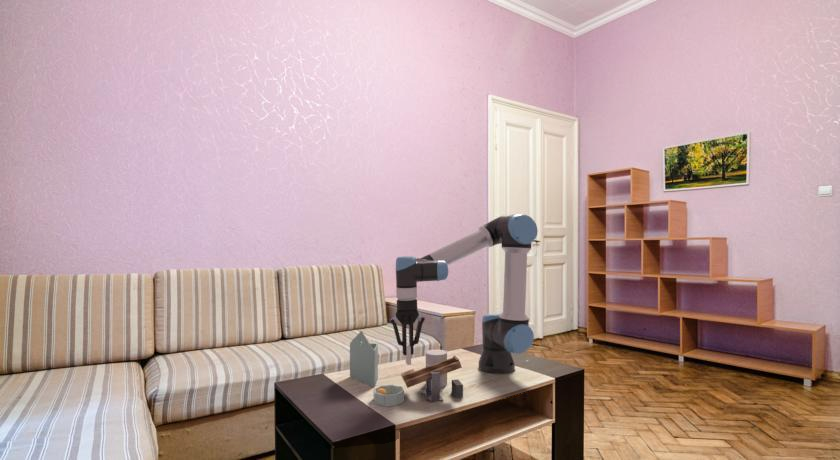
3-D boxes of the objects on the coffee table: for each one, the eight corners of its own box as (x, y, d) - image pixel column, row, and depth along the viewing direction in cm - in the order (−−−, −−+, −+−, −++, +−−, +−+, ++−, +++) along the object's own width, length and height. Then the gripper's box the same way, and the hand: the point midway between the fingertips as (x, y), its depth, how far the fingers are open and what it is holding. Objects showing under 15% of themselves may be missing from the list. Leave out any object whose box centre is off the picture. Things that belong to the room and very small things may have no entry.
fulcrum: (436, 390, 160) (435, 364, 160) (443, 401, 150) (443, 373, 150) (422, 391, 159) (422, 365, 159) (428, 402, 149) (428, 374, 149)
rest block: (458, 391, 160) (458, 379, 160) (463, 397, 154) (463, 384, 154) (451, 391, 159) (451, 379, 159) (456, 397, 153) (456, 385, 153)
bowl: (400, 393, 157) (400, 384, 157) (405, 404, 148) (405, 393, 148) (372, 396, 155) (372, 386, 155) (375, 406, 146) (375, 396, 146)
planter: (390, 382, 170) (390, 331, 170) (373, 387, 164) (373, 334, 165) (365, 372, 182) (365, 324, 182) (349, 377, 177) (349, 327, 177)
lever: (451, 357, 167) (449, 350, 167) (461, 367, 154) (459, 359, 154) (401, 375, 163) (399, 368, 163) (407, 387, 150) (405, 380, 150)
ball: (376, 386, 152) (374, 396, 152) (377, 389, 149) (375, 399, 149) (386, 387, 153) (384, 397, 153) (387, 391, 150) (385, 401, 150)
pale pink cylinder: (445, 388, 163) (445, 355, 163) (423, 386, 165) (423, 354, 165) (448, 381, 171) (448, 350, 171) (427, 379, 173) (427, 349, 173)
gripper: (422, 296, 166) (423, 359, 166) (387, 298, 163) (389, 362, 163) (426, 299, 159) (428, 365, 158) (390, 301, 156) (392, 368, 156)
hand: (408, 363), depth 161 cm, fingers closed
